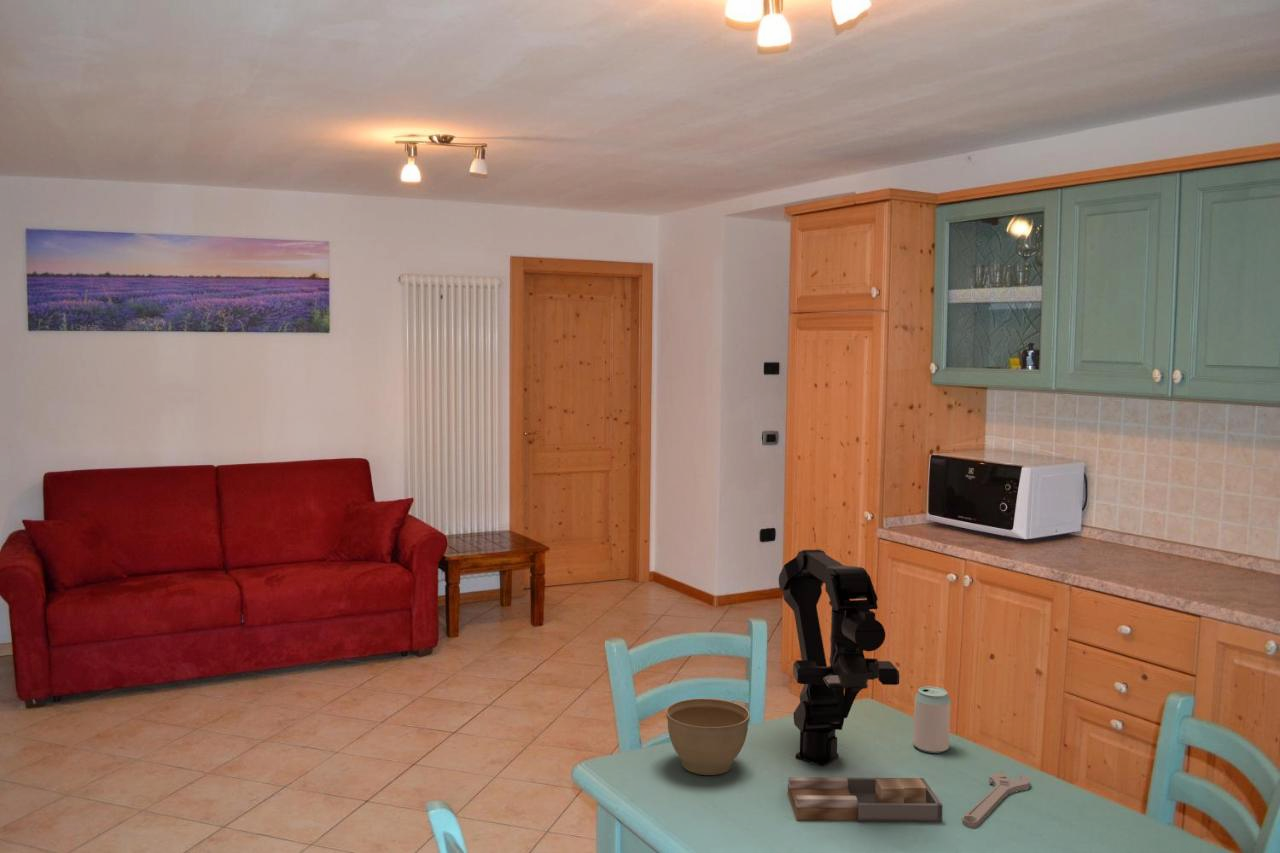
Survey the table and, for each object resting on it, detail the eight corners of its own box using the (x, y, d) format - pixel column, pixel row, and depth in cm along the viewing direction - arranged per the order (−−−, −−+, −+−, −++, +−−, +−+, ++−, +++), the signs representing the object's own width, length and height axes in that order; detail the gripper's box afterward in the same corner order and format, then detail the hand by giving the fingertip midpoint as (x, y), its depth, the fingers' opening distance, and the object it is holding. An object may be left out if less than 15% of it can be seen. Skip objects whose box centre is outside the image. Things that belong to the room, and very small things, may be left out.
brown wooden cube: (880, 810, 175) (881, 788, 175) (875, 800, 179) (875, 778, 178) (903, 810, 175) (904, 788, 175) (897, 800, 179) (897, 779, 179)
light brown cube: (902, 809, 175) (903, 787, 175) (896, 799, 179) (897, 778, 179) (925, 809, 175) (926, 788, 175) (918, 799, 179) (919, 778, 179)
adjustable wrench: (974, 833, 169) (975, 822, 169) (939, 820, 174) (940, 810, 174) (1034, 786, 188) (1034, 777, 187) (1000, 776, 192) (1001, 767, 192)
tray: (858, 821, 172) (858, 805, 171) (844, 793, 183) (844, 777, 182) (941, 822, 172) (942, 805, 172) (922, 793, 183) (923, 778, 183)
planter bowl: (765, 766, 194) (766, 711, 193) (712, 792, 183) (714, 734, 182) (701, 743, 205) (702, 691, 204) (648, 766, 194) (649, 711, 193)
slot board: (797, 820, 172) (797, 800, 172) (787, 794, 182) (788, 775, 182) (857, 820, 172) (858, 800, 172) (844, 794, 182) (845, 776, 182)
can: (914, 753, 201) (917, 695, 200) (911, 739, 208) (913, 683, 207) (951, 756, 200) (953, 697, 199) (946, 742, 207) (948, 686, 206)
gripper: (804, 647, 176) (801, 733, 177) (909, 648, 176) (906, 734, 177) (793, 630, 187) (791, 711, 188) (892, 630, 187) (889, 711, 188)
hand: (844, 717), depth 185 cm, fingers closed
